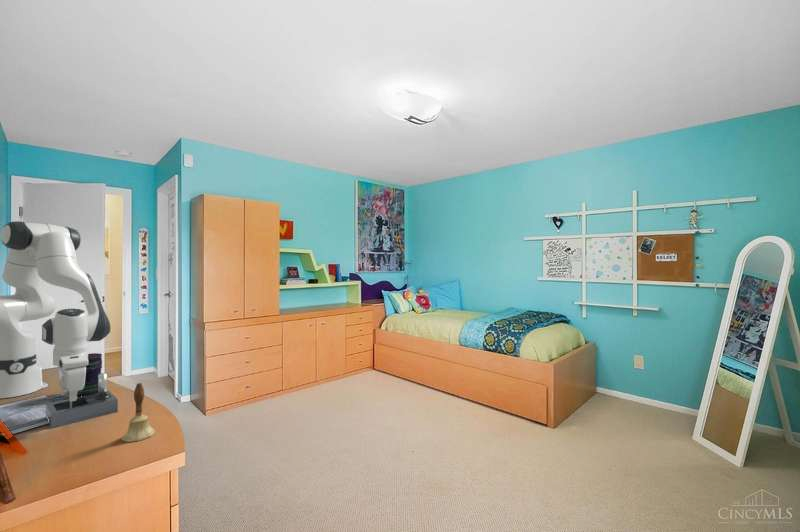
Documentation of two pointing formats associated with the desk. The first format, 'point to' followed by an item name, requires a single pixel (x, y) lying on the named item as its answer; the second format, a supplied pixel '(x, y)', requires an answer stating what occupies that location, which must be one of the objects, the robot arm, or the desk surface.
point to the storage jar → (91, 375)
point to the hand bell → (138, 420)
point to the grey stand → (83, 406)
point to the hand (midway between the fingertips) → (70, 398)
